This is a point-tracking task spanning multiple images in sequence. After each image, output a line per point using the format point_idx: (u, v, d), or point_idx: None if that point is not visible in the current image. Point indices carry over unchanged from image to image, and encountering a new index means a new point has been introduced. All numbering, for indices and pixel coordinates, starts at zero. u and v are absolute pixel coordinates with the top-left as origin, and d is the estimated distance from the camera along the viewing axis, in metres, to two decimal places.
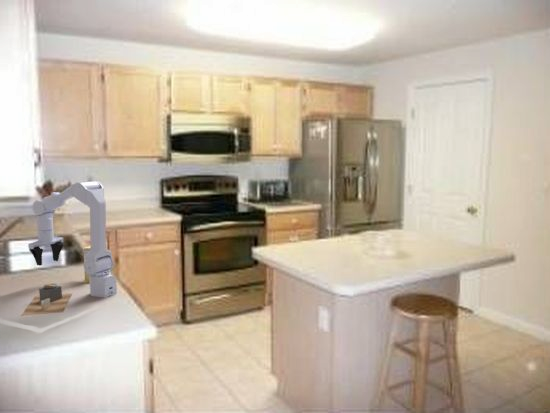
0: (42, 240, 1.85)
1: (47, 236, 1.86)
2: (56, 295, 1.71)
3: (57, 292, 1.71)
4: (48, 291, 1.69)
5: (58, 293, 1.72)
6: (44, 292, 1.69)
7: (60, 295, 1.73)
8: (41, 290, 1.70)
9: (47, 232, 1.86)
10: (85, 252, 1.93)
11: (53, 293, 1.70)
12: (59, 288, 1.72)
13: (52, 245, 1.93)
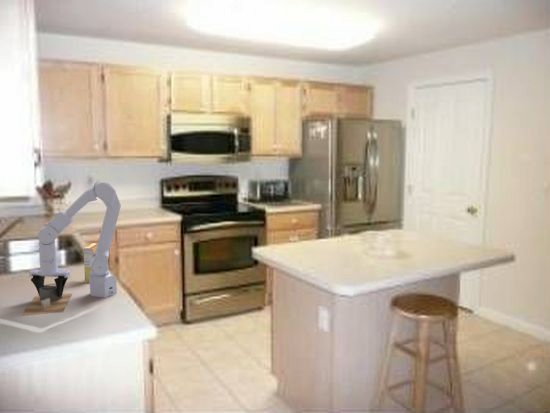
0: None
1: (41, 267, 1.68)
2: (56, 295, 1.71)
3: None
4: (48, 291, 1.69)
5: None
6: (44, 292, 1.69)
7: None
8: (41, 290, 1.70)
9: (41, 263, 1.68)
10: (85, 252, 1.93)
11: (53, 293, 1.70)
12: None
13: None
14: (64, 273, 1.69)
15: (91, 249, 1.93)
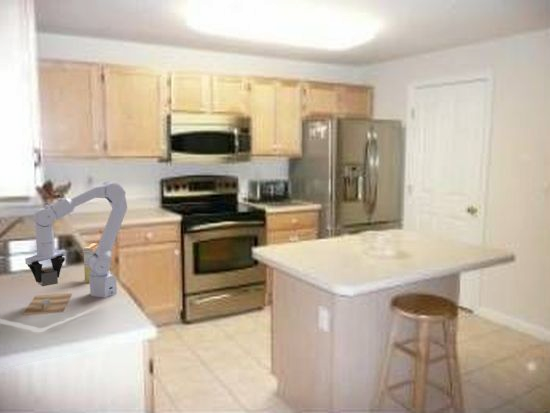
0: (41, 254, 1.64)
1: (47, 250, 1.64)
2: None
3: None
4: (55, 272, 1.67)
5: None
6: (49, 275, 1.66)
7: None
8: (45, 275, 1.65)
9: (47, 245, 1.64)
10: (85, 252, 1.93)
11: None
12: None
13: (52, 259, 1.71)
14: (63, 252, 1.72)
15: (91, 249, 1.93)
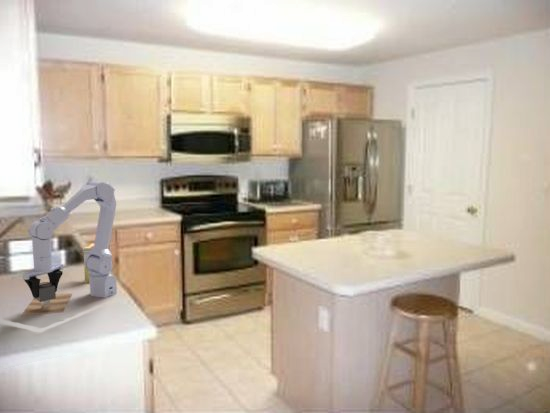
0: (39, 269, 1.59)
1: (45, 264, 1.59)
2: None
3: None
4: (53, 287, 1.62)
5: None
6: (47, 290, 1.61)
7: None
8: (42, 290, 1.60)
9: (45, 259, 1.59)
10: (85, 252, 1.93)
11: None
12: None
13: (49, 273, 1.66)
14: (61, 265, 1.67)
15: (91, 249, 1.93)
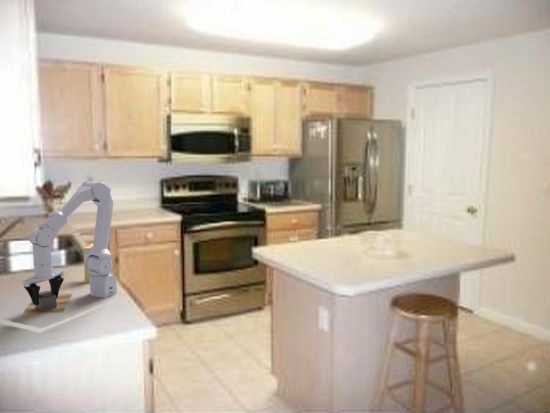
0: (39, 276, 1.59)
1: (45, 271, 1.59)
2: None
3: None
4: (54, 296, 1.63)
5: None
6: (48, 300, 1.61)
7: None
8: (44, 299, 1.60)
9: (45, 266, 1.59)
10: (85, 252, 1.93)
11: None
12: None
13: (50, 280, 1.66)
14: (61, 272, 1.67)
15: None
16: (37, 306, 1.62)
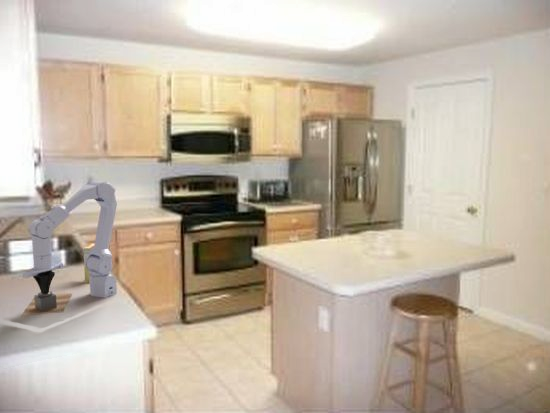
0: (39, 267, 1.59)
1: (45, 263, 1.59)
2: None
3: None
4: (54, 296, 1.63)
5: None
6: (48, 300, 1.61)
7: None
8: (44, 299, 1.60)
9: (44, 258, 1.59)
10: (85, 252, 1.93)
11: None
12: None
13: None
14: (60, 264, 1.67)
15: (91, 249, 1.93)
16: (37, 306, 1.62)
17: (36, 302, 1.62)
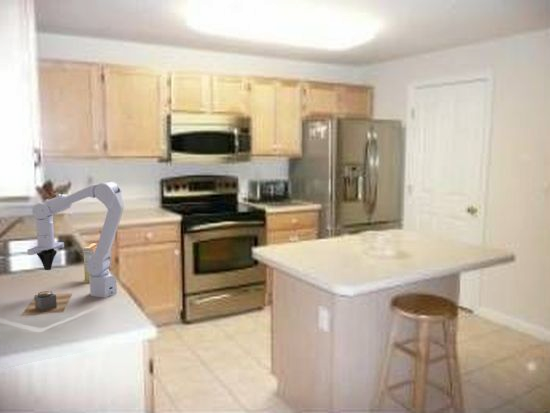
0: (42, 245, 1.74)
1: (48, 241, 1.75)
2: None
3: None
4: (54, 296, 1.63)
5: None
6: (48, 300, 1.61)
7: None
8: (44, 299, 1.60)
9: (47, 237, 1.74)
10: (85, 252, 1.93)
11: None
12: None
13: None
14: (62, 243, 1.82)
15: (91, 249, 1.93)
16: (37, 306, 1.62)
17: (36, 302, 1.62)
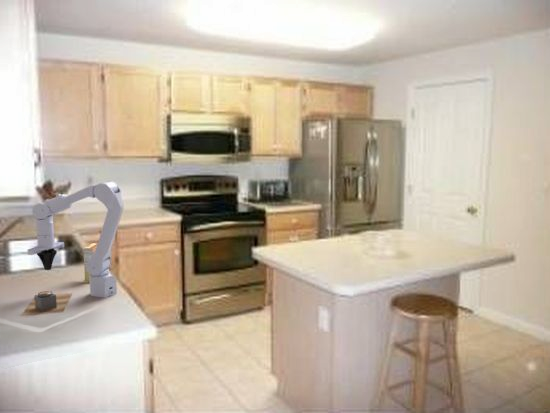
0: (42, 245, 1.74)
1: (48, 241, 1.75)
2: None
3: None
4: (54, 296, 1.63)
5: None
6: (48, 300, 1.61)
7: None
8: (44, 299, 1.60)
9: (47, 237, 1.75)
10: (85, 252, 1.93)
11: None
12: None
13: None
14: (62, 243, 1.83)
15: (91, 249, 1.93)
16: (37, 306, 1.62)
17: (36, 302, 1.62)
